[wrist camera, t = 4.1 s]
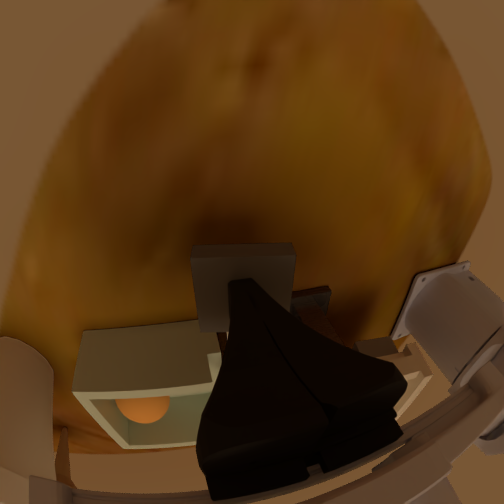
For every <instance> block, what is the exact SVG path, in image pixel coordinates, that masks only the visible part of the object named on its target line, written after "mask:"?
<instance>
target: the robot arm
mask: <svg viewBox="0 0 504 504" xmlns="http://www.w3.org/2000/svg"><path fill="white" fill-rule="evenodd" d="M470 264H471V263H470V262H469V261H465V262H461V263H457V264H454V265H450V266H447V267H443V268H439V269H436V270H432V271H428V272H424V273H421V274H418V275H417V276H416V277H415V278H414V281H413V284H412V286H411V289H410V291H409V294H408V297H407V299H406V302H405V304H404V307H403V309H402V311H401V314H400V316H399V318H398V321H397V323H396V325H395V327H394V330H393V332H392V334H391V339H392V340H396V339H398V338H401V337H403V336H406V335H408V334H412V335H413V337H414V338H415V339H416V340H417V342H418V343H419V344H420V345H421V346H422V348H423V349H424V350H425V351H426V353H427V354H428V355H429V356H430V358H431V359H432V360H433V361H434V363H435V364H436V365H437V366H438V368H439V369H440V370H441V371H442V373H443V374H444V375H445V377H446V378H447V379H448V381H449V382H450V383H451V384H452V386H451V388H450V389H449V390H448V392H449V393H450V394H451V395H450V396H449V397H447V398H446V399H445V400H443V401H442V402H440V403H439V404H438V405H436V406H434V407H433V408H431V409H429V410H428V411H426V412H425V413H423V414H422V415H420V416H418V417H417V418H415V419H413V420H411V421H410V422H408V423H406V424H404V425H403V426H401V427H400V426H399V425H398V423H397V422H396V420H395V418H396V417H397V413H396V411H395V410H394V406H395V405H396V404H397V402H398V401H399V400H400V399H401V397H402V396H403V395H404V393H405V391H406V389H407V385H408V383H407V381H406V379H405V378H404V376H403V375H402V374H401V372H400V371H399V369H398V368H397V367H396V366H395V364H394V363H392V362H389V361H385V360H382V359H378V358H375V357H372V356H368V355H366V354H363V353H360V352H358V351H355V350H352V349H350V348H348V347H345V346H343V345H341V344H339V343H337V342H335V341H333V340H331V339H329V338H327V337H325V336H323V335H322V334H320V333H318V332H317V331H315V330H313V329H312V328H310V327H309V326H307V325H306V324H304V323H303V322H301V321H300V320H299V319H297V318H296V317H295V316H293V315H292V314H291V313H289V312H288V311H287V310H286V309H285V308H283V307H282V306H281V305H280V304H279V303H278V302H276V301H275V300H274V299H273V298H272V297H271V296H270V295H269V294H268V293H267V292H266V291H265V290H264V289H263V288H262V287H261V286H260V285H259V284H258V283H257V282H256V281H255V280H253V279H252V278H246V279H239V280H232V281H230V282H229V283H228V304H229V318H230V325H229V333H228V338H227V343H226V348H225V352H224V356H223V360H222V363H221V367H220V370H219V373H218V376H217V379H216V381H215V384H214V387H213V390H212V392H211V395H210V397H209V399H208V401H207V403H206V406H205V408H204V410H203V412H202V414H201V420H200V424H199V429H198V434H197V440H196V454H197V459H198V463H199V467H200V468H201V470H202V472H203V473H204V475H205V477H206V481H207V485H208V489H209V490H202V491H191V492H180V493H160V494H130V493H110V492H99V491H90V490H82V489H75V488H70V487H69V486H68V485H66V484H64V483H62V482H59V481H56V480H51V479H47V478H42V477H38V476H33V475H30V476H29V504H247V503H252V502H256V501H261V500H265V499H269V498H273V497H277V496H281V495H285V494H288V493H292V492H294V491H298V490H301V489H304V488H307V487H310V486H313V485H316V484H319V483H322V482H325V481H327V480H330V479H332V478H335V477H337V476H340V475H342V474H345V473H347V472H349V471H352V470H354V469H356V468H358V467H361V466H363V465H365V464H367V463H369V462H371V461H373V460H375V459H377V458H379V457H381V456H383V455H385V454H387V453H389V452H390V451H392V450H394V449H396V448H398V447H400V446H401V445H403V444H405V445H404V446H402V447H401V448H399V449H398V450H396V451H394V452H393V453H392V454H390V456H389V457H388V458H386V459H385V460H384V461H383V462H381V463H380V464H378V465H377V466H376V467H374V468H373V469H372V473H370V474H368V475H366V476H364V477H362V478H360V479H358V480H355V481H353V482H351V483H348V484H346V485H344V486H342V487H339V488H337V489H334V490H332V491H329V492H327V493H324V494H322V495H319V496H317V497H314V498H311V499H308V500H305V501H303V502H300V503H297V504H462V503H461V501H460V500H459V498H458V496H457V494H456V493H455V491H454V489H453V487H452V486H451V484H450V482H449V480H448V479H447V477H446V476H447V475H448V474H450V472H451V470H452V465H451V463H453V462H454V461H455V460H456V459H457V458H458V457H459V456H460V455H461V454H462V453H463V452H465V451H466V450H467V449H468V448H469V447H470V446H471V445H472V444H473V443H474V444H475V445H476V446H477V447H478V448H479V449H480V450H481V451H482V452H484V454H485V455H497V454H502V453H504V302H503V301H502V300H501V299H500V297H498V296H497V295H496V294H495V293H494V292H493V291H492V290H491V289H490V288H488V287H487V286H486V285H485V284H484V283H483V282H482V281H480V280H479V279H478V278H477V277H476V276H475V275H473V274H472V273H471V272H470V271H469V267H470Z"/></svg>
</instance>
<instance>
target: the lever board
mask: <svg viewBox="0 0 504 504" xmlns="http://www.w3.org/2000/svg"><path fill="white" fill-rule="evenodd" d="M190 260H191V269H192V277H193V285H194V292H195V299H196V307H197V313H198V320H199V327H200V333H202V332H227V338H228V333H229V325H230V318H229V304H228V283H229V282H230V281H232V280H239V279H246V278H252V279H253V280H255V281H256V282H257V283H258V284H259V285H260V286H261V287H262V288H263V289H264V290H265V291H266V292H267V293H268V294H269V295H270V296H271V297H272V298H273V299H274V300H275V301H276V302H278V303H279V304H280V305H281V306H282V307H283V308H285V309H286V310H287V311H288V312H290V304H291V296H292V288H293V280H294V271H295V262H296V253H295V251H294V248H293V246H292V243H256V244H218V245H193V247H192V252H191V257H190ZM352 350H355V351H358V352H360V353H363V354H366V355H368V356H372V357H375V358H378V359H382V360H385V361H389V362H392V363H394V364H395V366H396V367H397V368H398V369H399V371H400V372H401V374H402V375H403V376H404V378H405V379H406V381H407V383H408V385H407V389H406V391H405V393H404V395H403V396H402V397H401V399H400V400H399V401H398V402H397V404H396V405H395V406H394V410H395V411H396V413H397V417H396V418H395V420H397V419H398V418H399V417H400V416H401V414H403V412H404V411H405V410H406V409H407V408H408V407H409V405H410V404H411V403H412V402H413V400H414V399H415V398H416V397H417V395H418V394H419V393H420V392H421V391H422V389H423V388H424V387H425V385H426V384H427V383H428V381H429V380H430V379H431V377H432V376H433V373H432V371H431V369H430V367H429V366H428V364H427V362H426V360H425V358H424V357H423V355H422V353H421V351H420V350H419V348H418V346H417V345H416V343H410V344H407V345H406V346H405V348H404V350H403V352H400V353H399V352H398V350H397V348H396V346H395V345H394V343H393V341H392V339H391V337H390V336H388V337H382V338H376V339H370V340H364V341H357V342H355V343H354V346H353V349H352Z"/></svg>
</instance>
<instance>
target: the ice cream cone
mask: <svg viewBox="0 0 504 504" xmlns="http://www.w3.org/2000/svg"><path fill="white" fill-rule="evenodd" d="M69 463H70V462H69V448H68V430H67V428H66V427H63V429H62V431H61V436H60V441H59V445H58V450H57V455H56V459H55V473H56V481H59V482H62V483H64V484H66V485H68V486H69V487H70V488H75V489H77V488H76V486H75V485H74V483H73V482H72V480H71V477H70V464H69Z"/></svg>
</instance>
